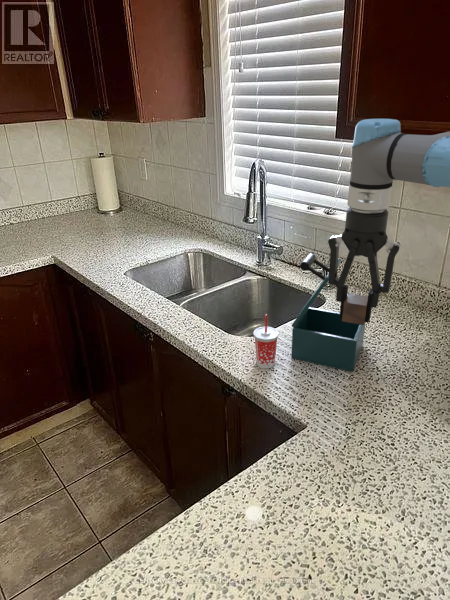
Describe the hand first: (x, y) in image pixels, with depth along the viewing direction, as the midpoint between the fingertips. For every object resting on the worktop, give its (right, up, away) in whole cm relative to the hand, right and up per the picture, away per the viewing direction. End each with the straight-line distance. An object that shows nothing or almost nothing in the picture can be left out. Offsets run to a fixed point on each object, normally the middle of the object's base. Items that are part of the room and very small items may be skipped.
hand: (354, 317), depth 94 cm
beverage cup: (-17, -13, +19) cm, 28 cm away
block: (0, 0, 0) cm, 0 cm away
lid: (-4, +5, +16) cm, 18 cm away
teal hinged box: (-1, -10, +22) cm, 24 cm away
